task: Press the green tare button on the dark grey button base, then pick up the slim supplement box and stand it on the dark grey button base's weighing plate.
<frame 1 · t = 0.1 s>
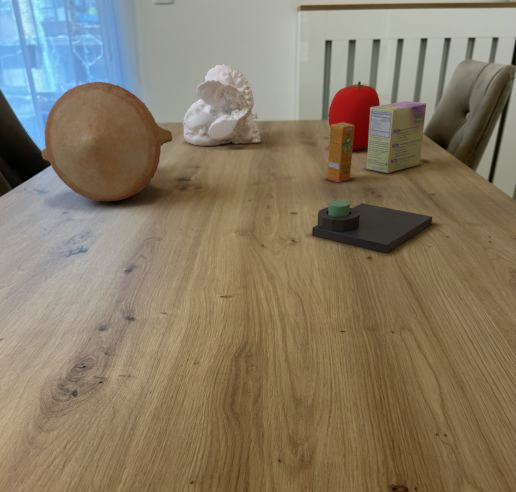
dark grey button base: (372, 229, 81), on the table
tare button: (339, 209, 79), point 3 cm above the table, slide at 0.1 cm
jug: (124, 188, 105), on the table
red apple: (352, 149, 128), on the table
supplement box: (339, 180, 105), on the table
box: (392, 168, 112), on the table
white sculpted figurine: (222, 143, 138), on the table
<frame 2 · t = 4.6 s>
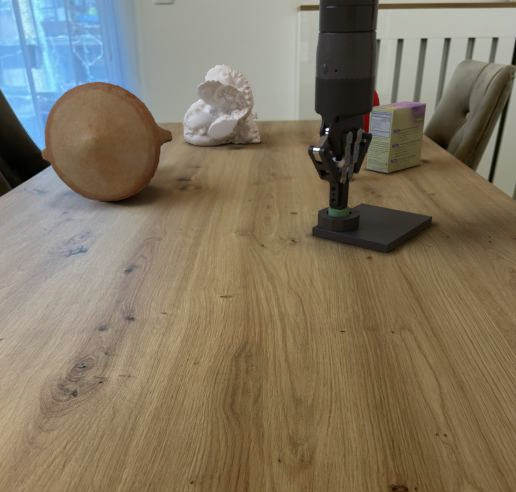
hand: (338, 207, 78), 4 cm above the table, tool pointing down, fingers closed
tare button: (338, 213, 79), point 3 cm above the table, slide at -0.5 cm, touching gripper
everything else where it was.
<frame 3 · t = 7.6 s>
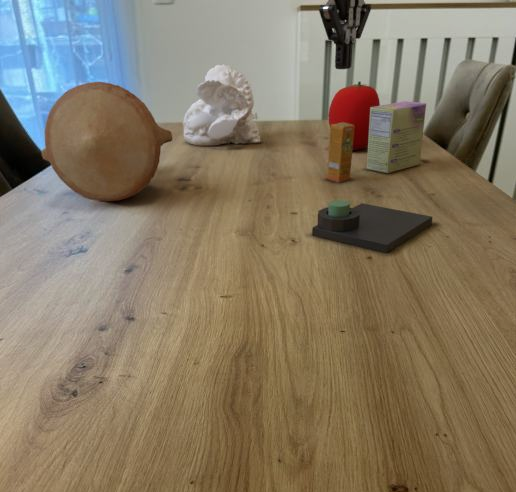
hand: (343, 68, 95), 19 cm above the table, tool pointing down, fingers closed
tare button: (339, 209, 79), point 3 cm above the table, slide at 0.1 cm
everything else where it was.
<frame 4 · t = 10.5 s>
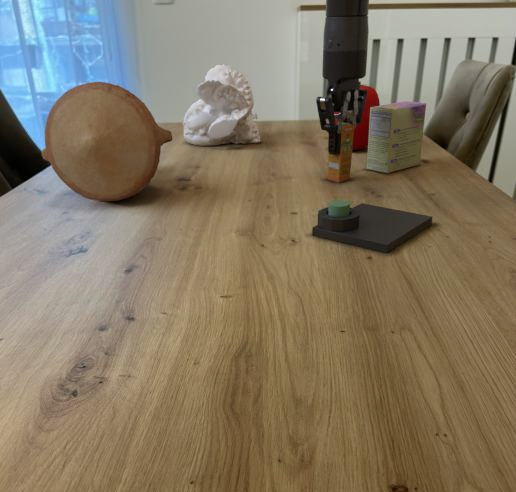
hand: (340, 151, 103), 5 cm above the table, tool pointing down, fingers closed on supplement box, 3 cm apart
supplement box: (339, 180, 105), on the table, touching gripper
everything else where it was.
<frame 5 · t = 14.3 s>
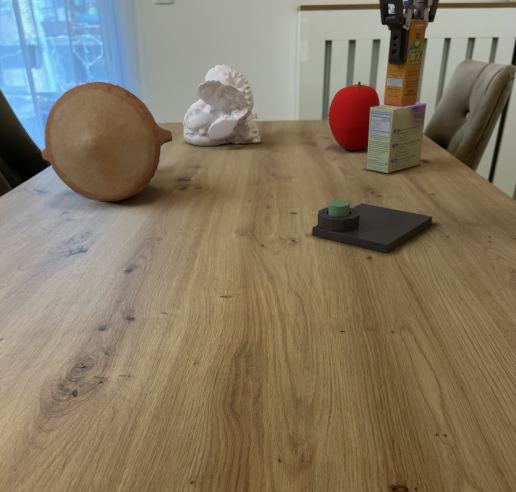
hand: (404, 62, 72), 22 cm above the table, tool pointing down, fingers closed on supplement box, 3 cm apart
supplement box: (400, 106, 75), point 16 cm above the table, touching gripper
everything else where it was.
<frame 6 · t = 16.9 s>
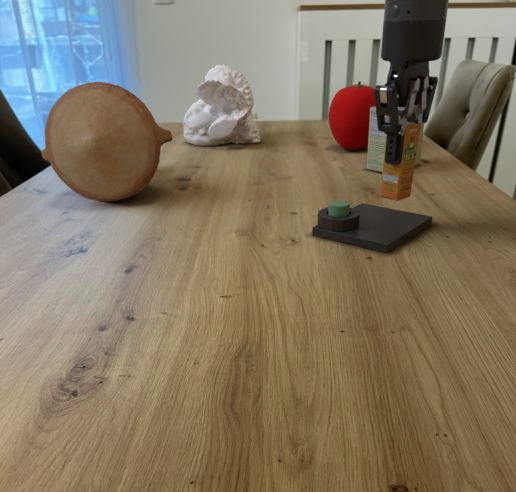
hand: (400, 160, 76), 10 cm above the table, tool pointing down, fingers closed on supplement box, 3 cm apart
supplement box: (395, 198, 79), point 4 cm above the table, touching gripper
everything else where it was.
when the fingers open (6 cm above the table, at t = 18.3 s): supplement box stays where it is, resting on dark grey button base.
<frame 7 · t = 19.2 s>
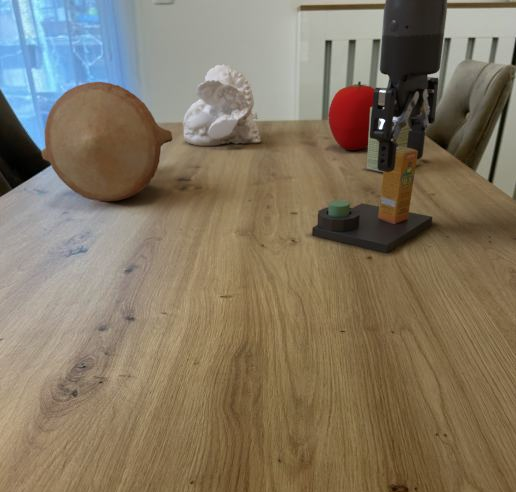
hand: (400, 164, 77), 9 cm above the table, tool pointing down, fingers open, 8 cm apart
supplement box: (393, 220, 81), point 1 cm above the table, touching dark grey button base
everything else where it was.
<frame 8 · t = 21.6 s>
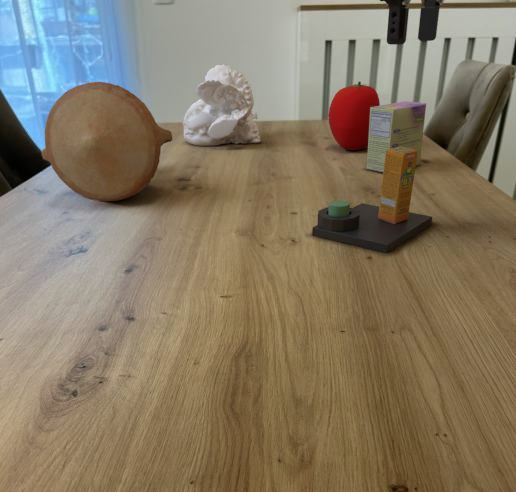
hand: (411, 42, 69), 24 cm above the table, tool pointing down, fingers open, 8 cm apart
nothing on the table moved.
at the end: tare button pushed in 1.1 cm at the most during the clip, back to where it started at the end; supplement box inside the target area on the dark grey button base (3.2 cm from its centre), point 1.0 cm above the dark grey button base's base; supplement box touching dark grey button base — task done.
